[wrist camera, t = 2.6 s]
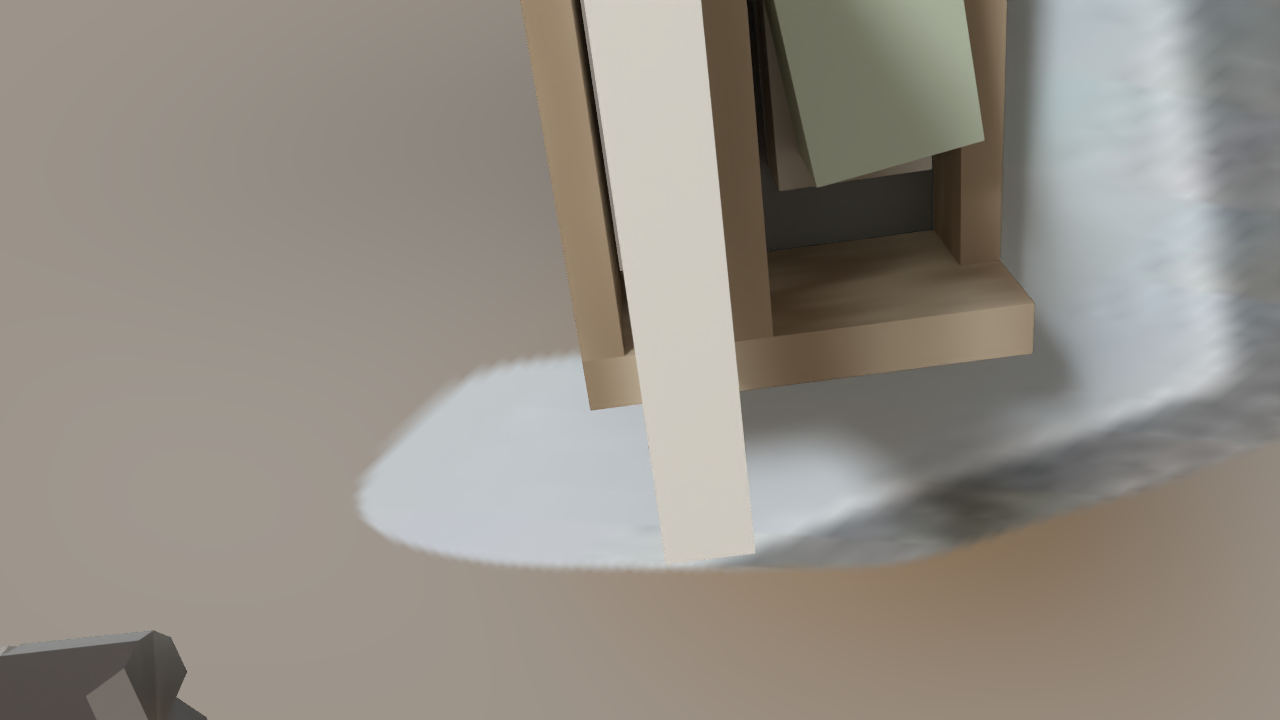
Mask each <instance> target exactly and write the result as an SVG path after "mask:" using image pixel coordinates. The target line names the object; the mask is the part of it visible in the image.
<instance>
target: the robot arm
mask: <svg viewBox="0 0 1280 720" xmlns="http://www.w3.org/2000/svg"><path fill="white" fill-rule="evenodd" d="M186 673H187V670H186V668H185V666H184V664H183V662H182V660H181V658H180V656H179V653H178V651H177V649H176V647H175V645H174V643H173V641H172V639H171V637H169V636H166V635H164V634H161V633H158V632H156V631H143V632H134V633H125V634H115V635H105V636H95V637H85V638H76V639H66V640H58V641H47V642H38V643H28V644H21V645H19V646H8V647H7V646H6V647H0V720H207V718H206V717H205V716H204V715H202V714H201V713H199V712H198V711H196V710H195V709H193V708H191V707H190V706H189V705H187V704H186V703H184V702H183V701H181V700H180V699H178V698H177V697H176V696H177V694H178V692H179V689H180V687H181V685H182V682H183V680H184V678H185V676H186Z"/></svg>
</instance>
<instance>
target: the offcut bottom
mask: <svg viewBox="0 0 1280 720" xmlns="http://www.w3.org/2000/svg"><path fill="white" fill-rule="evenodd" d="M753 7H754V18H755V29H756V40H757V51H758V62H759V73H760V84H761V95H762V106H763V117H764V128H765V139H766V150H767V161H768V166H769V168H770V171H771V173H772V175H773V178H774V180H775V182H776V185H777V187H778V189H779V191H786V190H792V189H799V188H806V187H813V186H816V185H815V183H814V181H813V179H812V177H811V175H810V173H809V171H808V169H807V167H806V165H805V163H804V161H803V160H802V158H801V156H800V153H799V149H798V145H797V140H796V136H795V132H794V127H793V123H792V119H791V115H790V110H789V106H788V102H787V97H786V93H785V89H784V84H783V80H782V76H781V72H780V67H779V63H778V59H777V54H776V50H775V46H774V41H773V37H772V33H771V29H770V24H769V20H768V16H767V11H766V7H765V3H764V0H753ZM930 169H932V156H928V157H925V158H921V159H918V160H914V161H911V162H907V163H904V164H900V165H896V166H893V167H889V168H886V169H882V170H879V171H875V172H872V173H868V174H865V175H861V176H858V177H854V178H851V179H847V180H844V181H840V182H837V183H841V182H848V181H855V180H861V179H868V178H875V177H882V176H889V175H896V174H903V173H910V172H917V171H924V170H930ZM833 184H834V183H833Z"/></svg>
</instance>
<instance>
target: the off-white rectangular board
mask: <svg viewBox="0 0 1280 720" xmlns="http://www.w3.org/2000/svg"><path fill="white" fill-rule="evenodd" d="M584 6H585V13H586V20H587V27H588V33H589V40H590V47H591V54H592V60H593V67H594V74H595V81H596V88H597V95H598V102H599V108H600V116H601V122H602V129H603V136H604V143H605V150H606V156H607V163H608V170H609V177H610V184H611V191H612V197H613V204H614V211H615V218H616V225H617V232H618V239H619V246H620V252H621V260H622V266H623V273H624V280H625V287H626V294H627V301H628V308H629V314H630V321H631V328H632V335H633V342H634V349H635V355H636V362H637V369H638V376H639V383H640V390H641V397H642V403H643V410H644V417H645V424H646V431H647V438H648V445H649V451H650V458H651V465H652V472H653V479H654V486H655V493H656V499H657V506H658V513H659V520H660V527H661V534H662V541H663V547H664V554H665V561H666V564H673V563H681V562H689V561H697V560H705V559H713V558H721V557H729V556H737V555H745V554H753V553H755V545H754V535H753V525H752V515H751V505H750V495H749V484H748V474H747V464H746V454H745V444H744V433H743V423H742V413H741V403H740V393H739V383H738V372H737V362H736V352H735V342H734V332H733V321H732V311H731V301H730V291H729V281H728V271H727V260H726V250H725V240H724V230H723V220H722V209H721V199H720V189H719V179H718V169H717V159H716V148H715V138H714V128H713V118H712V108H711V97H710V87H709V77H708V67H707V57H706V47H705V36H704V26H703V16H702V6H701V0H584Z"/></svg>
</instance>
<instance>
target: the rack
mask: <svg viewBox="0 0 1280 720" xmlns="http://www.w3.org/2000/svg"><path fill="white" fill-rule="evenodd" d="M520 2H521V8H522V14H523V19H524V25H525V31H526V37H527V42H528V49H529V55H530V60H531V66H532V72H533V78H534V84H535V89H536V95H537V101H538V107H539V113H540V118H541V124H542V130H543V136H544V142H545V148H546V154H547V159H548V165H549V171H550V176H551V183H552V188H553V194H554V200H555V206H556V212H557V218H558V223H559V228H560V235H561V241H562V246H563V253H564V258H565V264H566V270H567V276H568V282H569V287H570V293H571V299H572V305H573V311H574V317H575V322H576V328H577V334H578V340H579V346H580V352H581V357H582V363H583V369H584V375H585V381H586V386H587V392H588V398H589V404H590V410H598V409H606V408H613V407H621V406H629V405H637V404H643V403H642V397H641V390H640V383H639V376H638V369H637V362H636V355H635V349H634V342H633V335H632V328H631V321H630V314H629V308H628V301H627V294H626V287H625V280H624V273H623V271H620V268H619V261H618V255H617V248H616V241H615V234H614V227H613V221H612V214H611V207H610V200H609V193H608V186H607V180H606V173H605V166H604V159H603V153H602V146H601V139H600V132H599V125H598V119H597V112H596V105H595V99H594V92H593V85H592V78H591V71H590V64H589V58H588V51H587V44H586V38H585V31H584V24H583V17H582V10H581V3H580V0H520ZM701 6H702V16H703V26H704V36H705V47H706V57H707V67H708V77H709V87H710V97H711V108H712V118H713V128H714V138H715V148H716V159H717V169H718V179H719V189H720V199H721V209H722V220H723V230H724V240H725V250H726V260H727V271H728V281H729V291H730V301H731V311H732V321H733V332H734V342H735V352H736V362H737V372H738V383H739V391H745V390H753V389H761V388H769V387H776V386H784V385H792V384H800V383H807V382H815V381H823V380H831V379H838V378H846V377H854V376H862V375H869V374H877V373H885V372H893V371H900V370H908V369H916V368H924V367H931V366H939V365H947V364H955V363H963V362H970V361H978V360H986V359H994V358H1001V357H1009V356H1017V355H1025V354H1032V353H1033V332H1034V309H1035V303H1034V301H1033V300H1032V299H1031V298H1030V297H1029V295H1028V294H1027V293H1026V292H1025V290H1024V289H1023V288H1022V287H1021V286H1020V284H1019V283H1018V282H1017V281H1016V280H1015V278H1014V277H1013V276H1012V275H1011V273H1010V272H1009V271H1008V270H1007V269H1006V267H1005V266H1004V265H1003V264H1002V263H1001V261H1000V248H1001V210H1002V172H1003V133H1004V95H1005V57H1006V19H1007V0H964V7H965V13H966V20H967V26H968V33H969V40H970V46H971V53H972V60H973V66H974V73H975V79H976V86H977V93H978V99H979V106H980V113H981V119H982V126H983V132H984V139H985V141H981V142H978V143H974V144H970V145H967V146H963V147H960V148H956V149H953V150H949V151H946V152H942V153H939V154H935V155H933V170H934V230H929V231H921V232H914V233H906V234H898V235H891V236H883V237H876V238H868V239H861V240H853V241H845V242H838V243H830V244H823V245H815V246H808V247H800V248H792V249H785V250H777V251H770V252H767V249H766V237H765V224H764V212H763V199H762V186H761V174H760V161H759V149H758V136H757V124H756V111H755V99H754V86H753V73H752V61H751V48H750V36H749V23H748V11H747V0H701Z"/></svg>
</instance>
